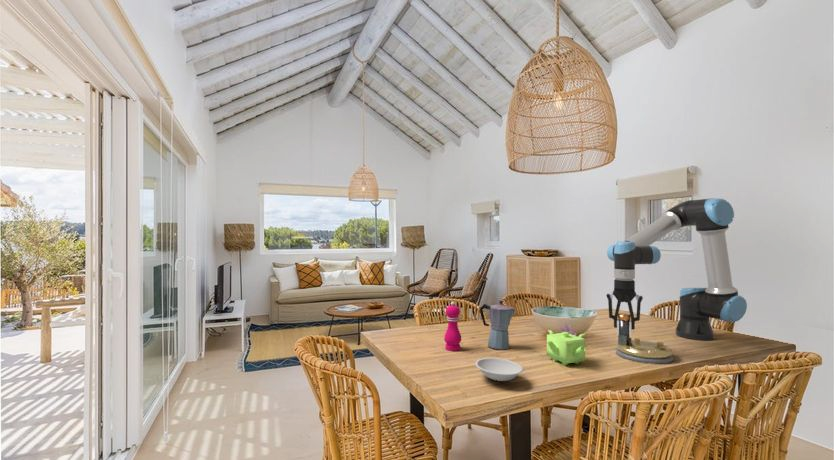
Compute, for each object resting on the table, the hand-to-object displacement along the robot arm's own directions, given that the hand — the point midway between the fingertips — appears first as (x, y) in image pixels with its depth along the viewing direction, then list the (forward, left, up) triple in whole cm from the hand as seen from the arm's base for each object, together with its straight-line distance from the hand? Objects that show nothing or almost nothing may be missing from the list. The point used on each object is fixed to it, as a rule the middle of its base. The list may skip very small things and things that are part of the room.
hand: (624, 336), depth 167 cm
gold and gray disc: (-3, +6, -5) cm, 9 cm away
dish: (+65, -5, -7) cm, 66 cm away
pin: (0, 0, -3) cm, 3 cm away
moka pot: (+38, -34, -7) cm, 51 cm away
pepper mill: (+56, -42, -7) cm, 70 cm away
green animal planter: (+29, -6, -7) cm, 30 cm away
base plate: (-3, +6, -7) cm, 10 cm away
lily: (+11, -18, -7) cm, 23 cm away
